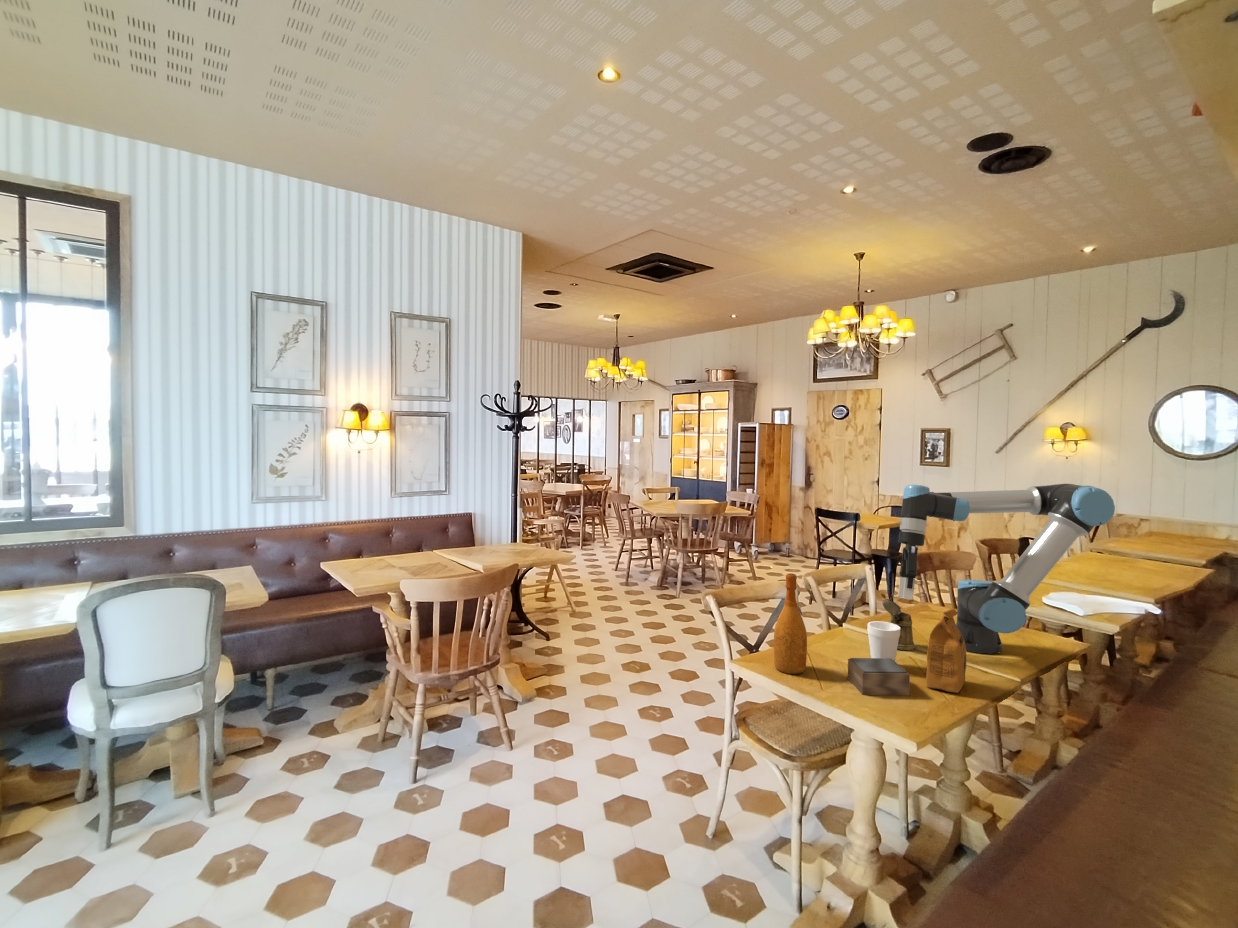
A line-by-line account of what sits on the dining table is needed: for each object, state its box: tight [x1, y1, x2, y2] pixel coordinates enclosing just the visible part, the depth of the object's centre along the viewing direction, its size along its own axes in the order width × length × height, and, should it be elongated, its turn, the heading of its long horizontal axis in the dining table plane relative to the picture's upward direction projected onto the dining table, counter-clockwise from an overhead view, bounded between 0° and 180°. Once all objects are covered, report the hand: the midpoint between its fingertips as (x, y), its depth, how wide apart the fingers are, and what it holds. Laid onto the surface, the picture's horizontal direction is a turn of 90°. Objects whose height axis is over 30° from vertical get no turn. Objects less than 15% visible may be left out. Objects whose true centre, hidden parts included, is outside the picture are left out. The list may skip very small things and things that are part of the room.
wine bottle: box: [773, 572, 808, 675], centre depth 179 cm, size 10×10×30 cm
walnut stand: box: [847, 657, 911, 696], centre depth 167 cm, size 13×11×6 cm
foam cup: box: [866, 620, 900, 662], centre depth 181 cm, size 10×9×13 cm
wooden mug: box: [882, 598, 915, 652], centre depth 198 cm, size 9×14×18 cm, turn 126°
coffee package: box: [925, 607, 967, 693], centre depth 167 cm, size 10×12×22 cm
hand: (905, 598), depth 185 cm, fingers open, 13 cm apart
